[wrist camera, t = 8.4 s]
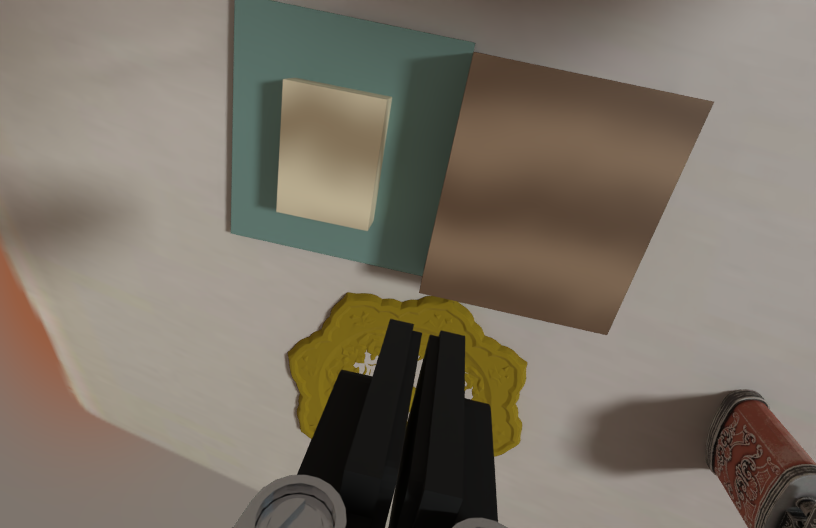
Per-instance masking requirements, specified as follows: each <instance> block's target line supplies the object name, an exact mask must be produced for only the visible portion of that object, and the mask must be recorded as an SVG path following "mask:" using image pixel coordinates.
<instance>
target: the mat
mask: <svg viewBox="0 0 816 528" xmlns="http://www.w3.org/2000/svg"><path fill="white" fill-rule="evenodd" d="M474 47H475V43H473V42H468V41H464V40H459V39H454V38H449V37H444V36H440V35H435V34H430V33H425V32H420V31H415V30H411V29H406V28H401V27H396V26H391V25H387V24H382V23H377V22H372V21H367V20H362V19H358V18H353V17H348V16H343V15H338V14H334V13H329V12H324V11H319V10H314V9H309V8H305V7H300V6H295V5H290V4H285V3H280V2H276V1H271V0H235V12H234V72H233V133H232V194H231V233H232V234H236V235H241V236H245V237H250V238H254V239H259V240H263V241H268V242H272V243H276V244H281V245H285V246H290V247H294V248H299V249H303V250H308V251H312V252H317V253H321V254H326V255H330V256H334V257H339V258H343V259H348V260H352V261H357V262H361V263H366V264H370V265H375V266H379V267H384V268H388V269H393V270H397V271H401V272H406V273H410V274H415V275H419V276H423V271H424V267H425V263H426V258H427V254H428V249H429V245H430V241H431V236H432V232H433V227H434V223H435V219H436V214H437V210H438V205H439V201H440V197H441V192H442V188H443V183H444V179H445V175H446V170H447V166H448V161H449V157H450V153H451V148H452V144H453V139H454V135H455V131H456V126H457V122H458V117H459V113H460V108H461V104H462V100H463V95H464V91H465V86H466V82H467V78H468V73H469V69H470V64H471V60H472V56H473V51H474ZM288 78H300V79H305V80H310V81H315V82H320V83H325V84H330V85H335V86H340V87H345V88H350V89H355V90H360V91H365V92H370V93H375V94H380V95H385V96H390V97H392V102H391V109H390V116H389V122H388V129H387V135H386V142H385V149H384V155H383V162H382V169H381V175H380V182H379V188H378V195H377V202H376V208H375V215H374V221H373V223H372V224H371V226H370V228H369V230H368V231H365V230H360V229H355V228H351V227H346V226H341V225H336V224H332V223H327V222H322V221H317V220H313V219H308V218H303V217H298V216H294V215H289V214H284V213H279V212H276V209H277V189H278V169H279V149H280V129H281V109H282V89H283V79H288Z"/></svg>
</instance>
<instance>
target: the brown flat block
mask: <svg viewBox="0 0 816 528" xmlns="http://www.w3.org/2000/svg"><path fill="white" fill-rule="evenodd" d="M713 103H714V102H712V101H708V100H703V99H698V98H693V97H688V96H684V95H679V94H674V93H669V92H664V91H660V90H655V89H650V88H645V87H640V86H636V85H631V84H626V83H621V82H616V81H612V80H607V79H602V78H597V77H592V76H588V75H583V74H578V73H573V72H568V71H564V70H559V69H554V68H549V67H544V66H539V65H535V64H530V63H525V62H520V61H515V60H511V59H506V58H501V57H496V56H491V55H487V54H482V53H477V52H473V56H472V60H471V64H470V69H469V73H468V78H467V82H466V86H465V91H464V95H463V100H462V104H461V108H460V113H459V117H458V122H457V126H456V131H455V135H454V139H453V144H452V148H451V153H450V157H449V161H448V166H447V170H446V175H445V179H444V183H443V188H442V192H441V197H440V201H439V205H438V210H437V214H436V219H435V223H434V227H433V232H432V236H431V241H430V245H429V249H428V254H427V258H426V263H425V267H424V271H423V276H422V281H421V286H420V291H419V293H422V294H426V295H431V296H435V297H440V298H444V299H449V300H453V301H457V302H462V303H466V304H471V305H475V306H480V307H484V308H488V309H493V310H497V311H502V312H506V313H511V314H515V315H520V316H524V317H528V318H533V319H537V320H542V321H546V322H551V323H555V324H560V325H564V326H568V327H573V328H577V329H582V330H586V331H591V332H595V333H600V334H604V335H607V334H608V332H609V330H610V328H611V325H612V323H613V321H614V319H615V317H616V314H617V312H618V310H619V308H620V306H621V304H622V301H623V299H624V297H625V295H626V293H627V291H628V288H629V286H630V284H631V282H632V280H633V277H634V275H635V273H636V271H637V269H638V267H639V264H640V262H641V260H642V258H643V256H644V254H645V251H646V249H647V247H648V245H649V243H650V240H651V238H652V236H653V234H654V232H655V230H656V227H657V225H658V223H659V221H660V219H661V216H662V214H663V212H664V210H665V208H666V206H667V203H668V201H669V199H670V197H671V195H672V193H673V190H674V188H675V186H676V184H677V182H678V179H679V177H680V175H681V173H682V171H683V169H684V166H685V164H686V162H687V160H688V158H689V156H690V153H691V151H692V149H693V147H694V145H695V142H696V140H697V138H698V136H699V134H700V132H701V129H702V127H703V125H704V123H705V121H706V118H707V116H708V114H709V112H710V110H711V108H712V105H713Z"/></svg>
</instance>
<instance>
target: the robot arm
mask: <svg viewBox="0 0 816 528" xmlns="http://www.w3.org/2000/svg"><path fill="white" fill-rule="evenodd" d="M413 327H414V324H412V323H407V322H403V321H399V320H394V319H390V321H389V324H388V327H387V331H386V334H385V337H384V341H383V344H382V347H381V350H380V354H379V357H378V360H377V364H376V367H375V370H374V374H373V377H372V376H368V375H364V374H359V373H355V372H351V371H347V370H341V371H340V372H339V375H338V377H337V379H336V382H335V384H334V386H333V389H332V391H331V394H330V396H329V398H328V401H327V403H326V406H325V408H324V411H323V413H322V415H321V418H320V420H319V423H318V425H317V428H316V430H315V432H314V435H313V437H312V440H311V442H310V444H309V447H308V449H307V452H306V454H305V457H304V459H303V461H302V464H301V466H300V469H299V471H298V474H297V475H289V476H286V477H283V478H280V479H277V480H275V481H273V482H271V483H270V484H268V485H267V486H265V487H263V488H262V489H261V490H260V491H259V492H258V494H257V495H256V496H255V497H254V498H253V499H252V500H251V502H250V503H249V505H248V506H247V508H246V509H245V511H244V512H243V513H242V515H241V516H240V518H239V519H238V521H237V522H236V524H235V525H234V527H233V528H385V525H386V521H387V517H388V513H389V509H390V506H391V502H392V498H393V494H394V498H393V504H392V510H391V516H390V522H389V527H388V528H507V527H506V526H504V525H502V524H500V523H498V515H497V498H496V482H495V465H494V449H493V432H492V416H491V407H490V405H489V404H487V403H483V402H478V401H474V400H470V399H466V398H465V336H464V335H459V334H455V333H451V332H446V331H442V330H441V331H440V333H439V336H434V335H429V339H428V343H427V347H426V351H425V355H424V359H423V363H422V366H421V370H420V374H419V378H418V382H417V386H416V390H415V394H414V398H413V402H412V406H411V410H410V414H409V418H408V413H409V407H410V402H411V396H412V390H413V384H414V378H415V372H416V367H417V361H418V355H419V349H420V343H421V337H422V333H421V332H417V331H413ZM407 419H408V422H407ZM406 425H407V426H406ZM395 485H396V487H395ZM394 490H395V493H394Z"/></svg>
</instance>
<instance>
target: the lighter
mask: <svg viewBox="0 0 816 528" xmlns="http://www.w3.org/2000/svg"><path fill="white" fill-rule="evenodd" d="M705 460H706V463H707V465H708V466H709V468H710V470H711V471H712V472H713V473H714V474H715V475H717V476H718V478H719V480H720V481H721V483H722V485H723V486H724V488H725V490H726V491H727V493H728V495H729V496H730V498H731V500H732V501H733V503H734V505H735V506H736V508H737V510H738V511H739V513H740V515H741V516H742V518H743V520H744V521H745V523H746V525H747V527H748V528H816V463H815V462H814V461H813V460H812V458H811V457H810V456H809V455H808V454H807V453H806V452H805V450H804V449H803V448H802V447H801V446H800V445H799V443H798V442H797V441H796V440H795V439H794V438H793V436H792V435H791V434H790V433H789V432H788V431H787V429H786V428H785V427H784V426H783V425H782V424H781V422H780V421H779V420H778V419H777V418H776V417H775V415H774V414H773V413H772V412H771V411H770V407H769V404H768V403H767V402H766V401H765V400H764V398H763V397H762V396H761V395H760V394H759V393H758V392H755V391H753V390H738V391H735V392H732V393H731V394H729V395H728V396H727V397H726V398H725V399H724V401H723V403H722V404H721V406H720V408H719V409H718V411H717V413H716V415H715V417H714V419H713V422H712V424H711V427H710V429H709V433H708V438H707V443H706V457H705Z"/></svg>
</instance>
